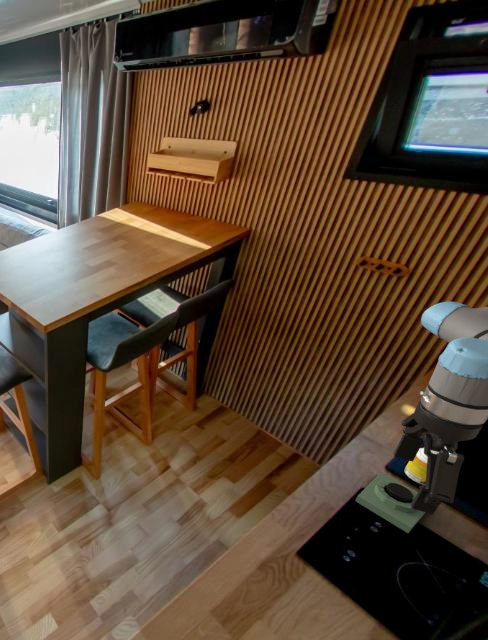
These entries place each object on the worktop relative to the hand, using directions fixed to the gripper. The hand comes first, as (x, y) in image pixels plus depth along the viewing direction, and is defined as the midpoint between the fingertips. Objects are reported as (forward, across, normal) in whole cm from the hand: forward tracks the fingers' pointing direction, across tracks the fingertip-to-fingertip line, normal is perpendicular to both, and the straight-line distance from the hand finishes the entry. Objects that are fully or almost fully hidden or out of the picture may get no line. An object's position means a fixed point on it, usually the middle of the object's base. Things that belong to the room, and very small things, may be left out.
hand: (411, 482), depth 77 cm
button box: (+18, -9, +3) cm, 20 cm away
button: (+15, -9, +3) cm, 17 cm away
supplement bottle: (+18, -21, +10) cm, 30 cm away
